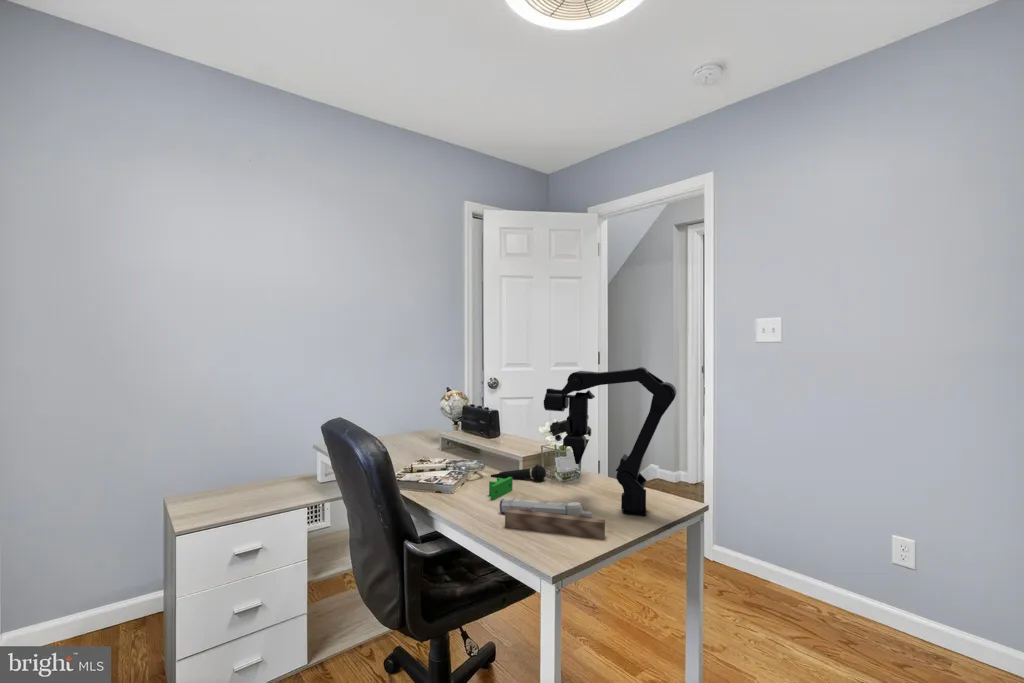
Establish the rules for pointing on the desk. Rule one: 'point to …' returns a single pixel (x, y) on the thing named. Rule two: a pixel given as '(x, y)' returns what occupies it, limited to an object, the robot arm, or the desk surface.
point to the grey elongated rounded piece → (543, 507)
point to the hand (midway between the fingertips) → (577, 463)
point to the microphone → (524, 473)
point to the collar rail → (555, 522)
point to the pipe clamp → (500, 487)
